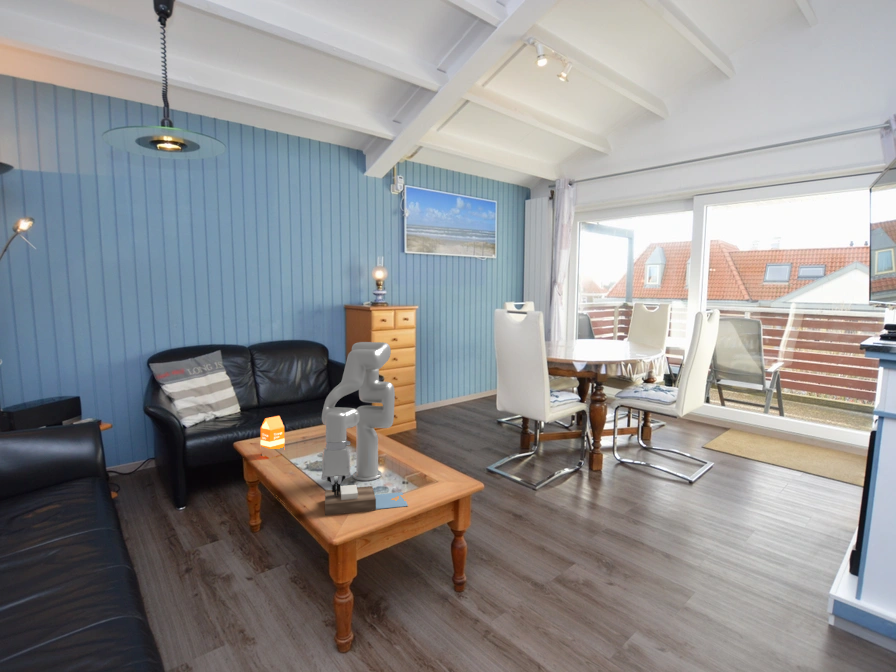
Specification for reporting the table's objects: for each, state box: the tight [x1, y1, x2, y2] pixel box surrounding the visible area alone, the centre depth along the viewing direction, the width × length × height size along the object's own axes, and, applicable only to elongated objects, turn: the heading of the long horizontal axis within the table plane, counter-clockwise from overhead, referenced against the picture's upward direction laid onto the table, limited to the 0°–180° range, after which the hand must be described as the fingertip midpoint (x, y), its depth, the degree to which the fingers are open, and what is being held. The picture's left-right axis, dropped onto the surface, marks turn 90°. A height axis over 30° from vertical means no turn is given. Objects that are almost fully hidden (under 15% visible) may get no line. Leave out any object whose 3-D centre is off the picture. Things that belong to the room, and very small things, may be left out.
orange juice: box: [260, 415, 286, 449], centre depth 235 cm, size 8×9×20 cm
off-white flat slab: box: [340, 484, 358, 500], centre depth 171 cm, size 9×6×2 cm, turn 15°
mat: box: [375, 491, 409, 511], centre depth 176 cm, size 14×12×1 cm
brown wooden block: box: [324, 485, 376, 516], centre depth 171 cm, size 14×18×4 cm
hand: (336, 493), depth 170 cm, fingers closed
